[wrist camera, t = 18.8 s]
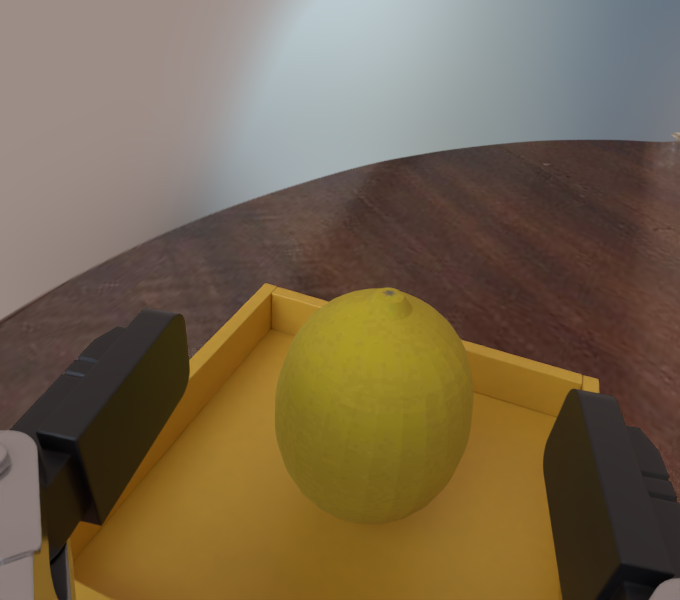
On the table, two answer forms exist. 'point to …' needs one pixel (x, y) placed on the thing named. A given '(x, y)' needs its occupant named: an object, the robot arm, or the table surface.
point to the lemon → (374, 406)
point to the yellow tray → (302, 514)
